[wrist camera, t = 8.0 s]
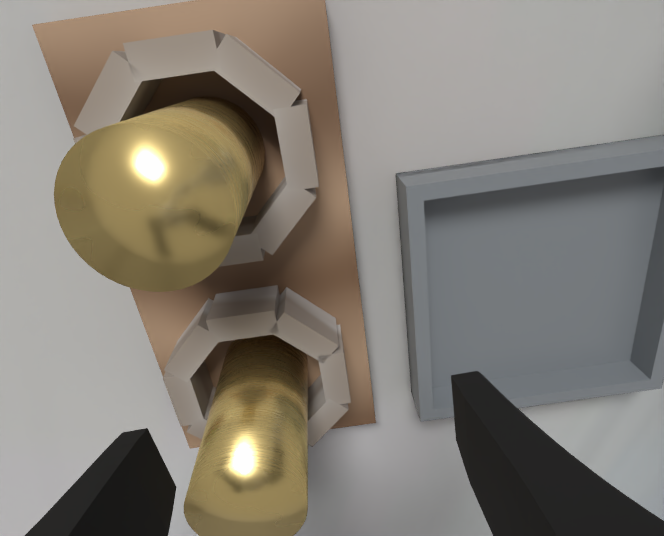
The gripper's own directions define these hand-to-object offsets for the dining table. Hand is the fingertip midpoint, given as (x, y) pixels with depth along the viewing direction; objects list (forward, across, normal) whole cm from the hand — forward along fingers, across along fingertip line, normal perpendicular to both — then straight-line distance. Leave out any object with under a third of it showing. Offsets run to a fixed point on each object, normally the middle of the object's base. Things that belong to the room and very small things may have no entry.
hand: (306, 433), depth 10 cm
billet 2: (+8, +3, +4) cm, 9 cm away
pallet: (+9, +2, -1) cm, 10 cm away
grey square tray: (+9, -9, +2) cm, 13 cm away
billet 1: (+8, +2, -6) cm, 10 cm away
